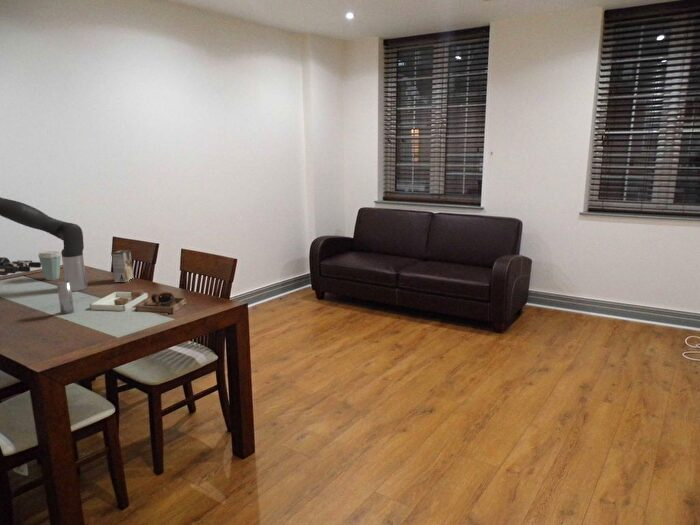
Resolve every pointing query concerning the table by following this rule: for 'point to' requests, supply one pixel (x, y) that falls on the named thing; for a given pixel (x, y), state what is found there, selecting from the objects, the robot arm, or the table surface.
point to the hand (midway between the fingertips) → (35, 267)
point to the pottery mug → (163, 299)
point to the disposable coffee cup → (50, 264)
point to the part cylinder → (65, 297)
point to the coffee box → (122, 265)
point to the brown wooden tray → (144, 307)
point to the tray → (108, 301)
